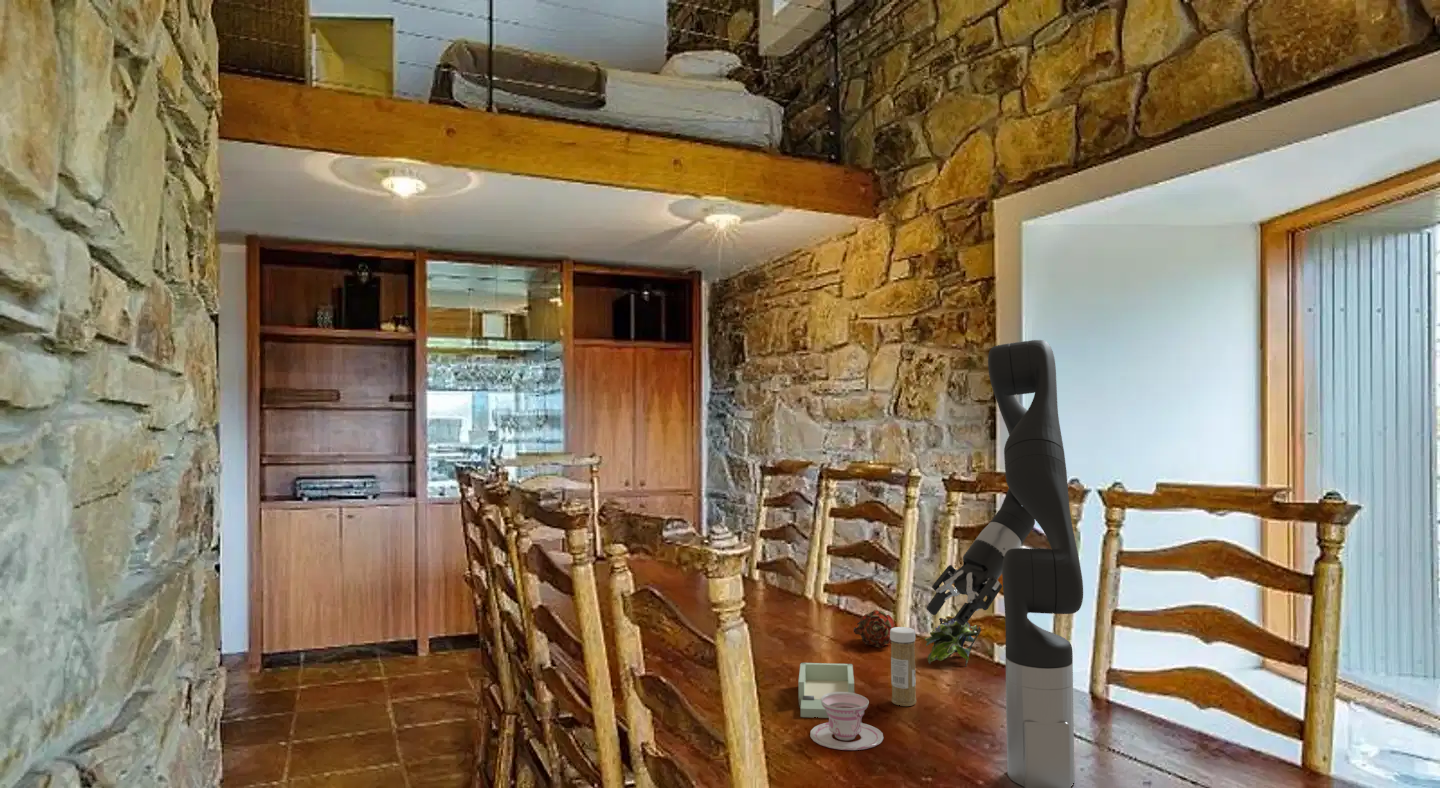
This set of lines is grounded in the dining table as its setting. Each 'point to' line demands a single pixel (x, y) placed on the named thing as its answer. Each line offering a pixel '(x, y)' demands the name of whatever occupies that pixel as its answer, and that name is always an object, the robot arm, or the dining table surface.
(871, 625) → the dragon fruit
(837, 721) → the teacup
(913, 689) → the sprinkles bottle
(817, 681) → the crate
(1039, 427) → the robot arm
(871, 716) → the dining table surface
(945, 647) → the passion flower
